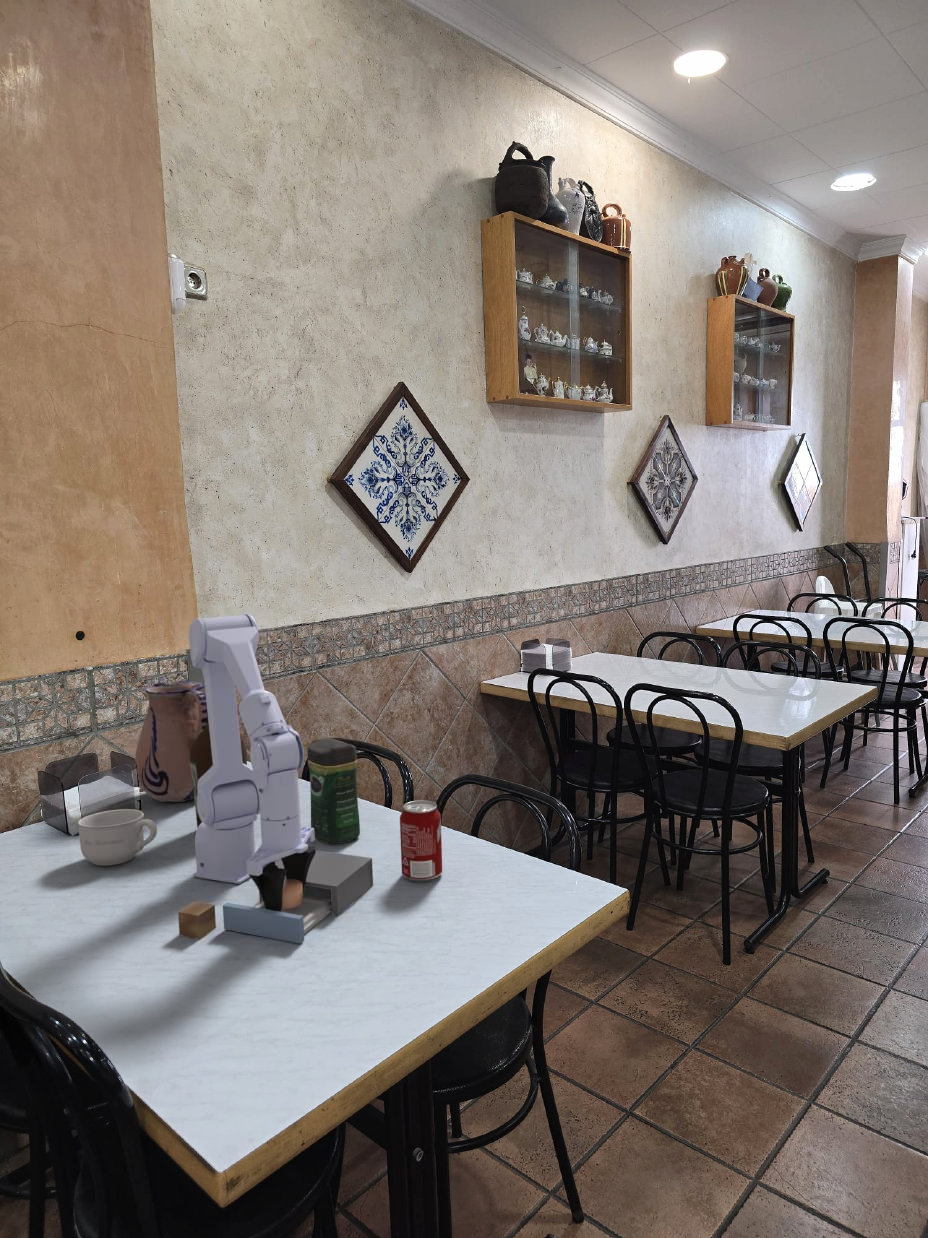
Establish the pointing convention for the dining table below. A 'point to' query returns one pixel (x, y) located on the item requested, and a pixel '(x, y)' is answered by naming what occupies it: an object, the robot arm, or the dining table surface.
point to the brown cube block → (196, 920)
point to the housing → (339, 877)
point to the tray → (276, 919)
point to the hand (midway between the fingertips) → (285, 904)
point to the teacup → (114, 836)
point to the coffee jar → (333, 790)
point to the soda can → (421, 841)
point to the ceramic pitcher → (170, 739)
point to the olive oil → (205, 760)
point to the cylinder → (292, 893)
